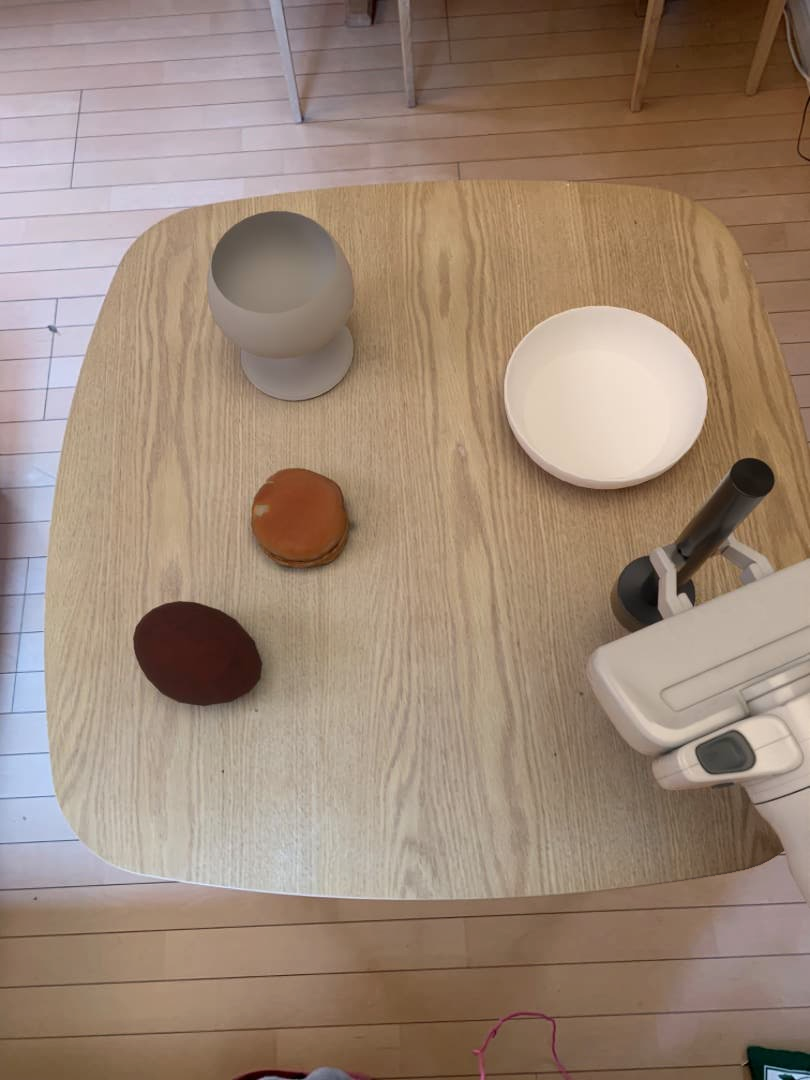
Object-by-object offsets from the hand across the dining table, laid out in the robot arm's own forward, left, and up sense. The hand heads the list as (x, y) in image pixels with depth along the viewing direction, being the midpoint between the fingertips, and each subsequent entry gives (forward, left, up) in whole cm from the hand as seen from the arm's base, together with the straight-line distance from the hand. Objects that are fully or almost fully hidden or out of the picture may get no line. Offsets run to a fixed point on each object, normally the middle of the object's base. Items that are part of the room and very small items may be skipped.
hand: (685, 537), depth 57 cm
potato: (+34, +18, -24) cm, 45 cm away
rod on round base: (-1, +1, -12) cm, 13 cm away
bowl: (+9, -20, -24) cm, 33 cm away
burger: (+32, +2, -24) cm, 40 cm away
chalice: (+41, -16, -24) cm, 50 cm away
